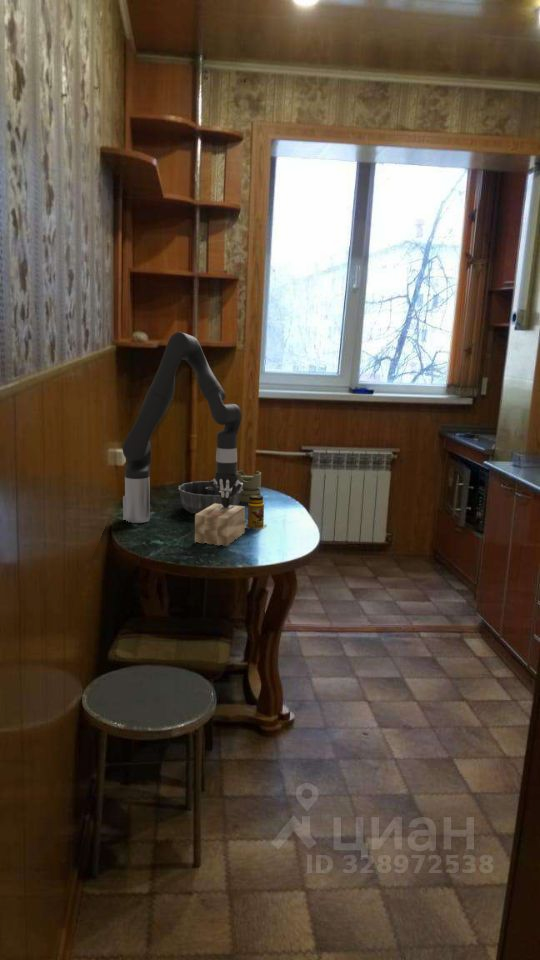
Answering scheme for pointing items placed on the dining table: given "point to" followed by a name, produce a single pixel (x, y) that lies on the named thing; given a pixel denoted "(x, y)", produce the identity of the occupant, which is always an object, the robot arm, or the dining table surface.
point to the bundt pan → (203, 496)
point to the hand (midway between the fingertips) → (225, 507)
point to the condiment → (255, 512)
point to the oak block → (219, 525)
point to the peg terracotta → (215, 513)
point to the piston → (249, 485)
